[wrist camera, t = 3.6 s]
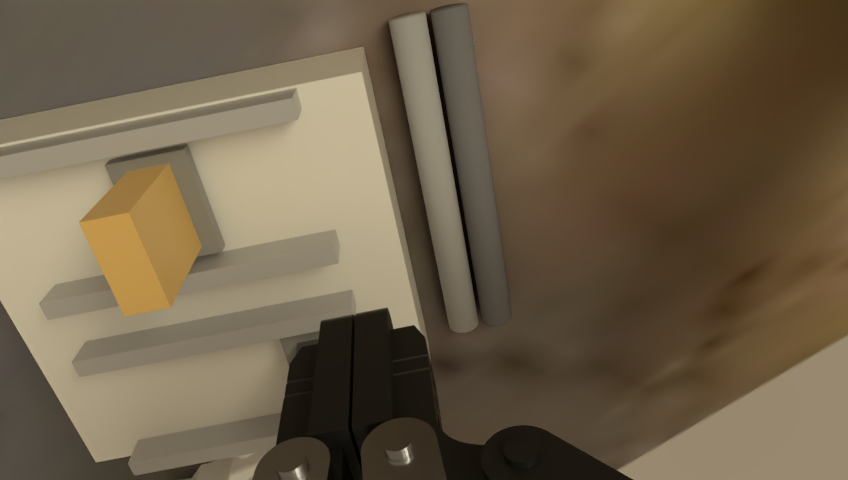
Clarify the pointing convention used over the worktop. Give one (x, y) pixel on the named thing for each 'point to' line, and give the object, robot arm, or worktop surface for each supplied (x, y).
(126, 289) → the breaker toggle
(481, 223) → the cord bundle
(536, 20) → the worktop surface
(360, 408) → the robot arm
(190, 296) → the breaker housing
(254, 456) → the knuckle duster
